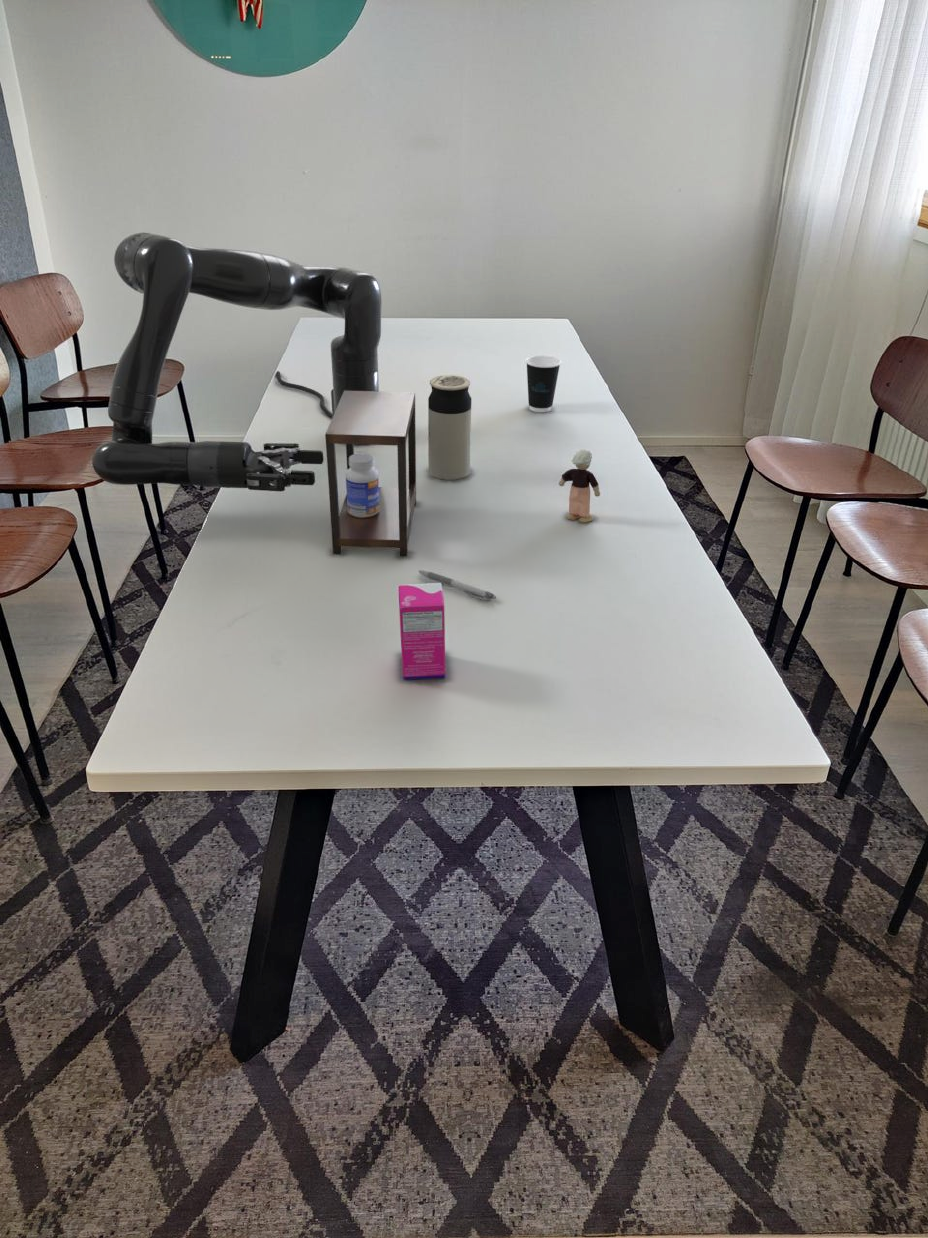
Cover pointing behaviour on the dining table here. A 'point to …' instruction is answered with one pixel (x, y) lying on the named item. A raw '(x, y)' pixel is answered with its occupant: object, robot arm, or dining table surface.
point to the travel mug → (449, 427)
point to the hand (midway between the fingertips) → (318, 467)
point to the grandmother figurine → (580, 486)
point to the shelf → (379, 424)
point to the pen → (459, 585)
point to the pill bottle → (362, 486)
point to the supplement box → (422, 631)
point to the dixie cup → (542, 381)
